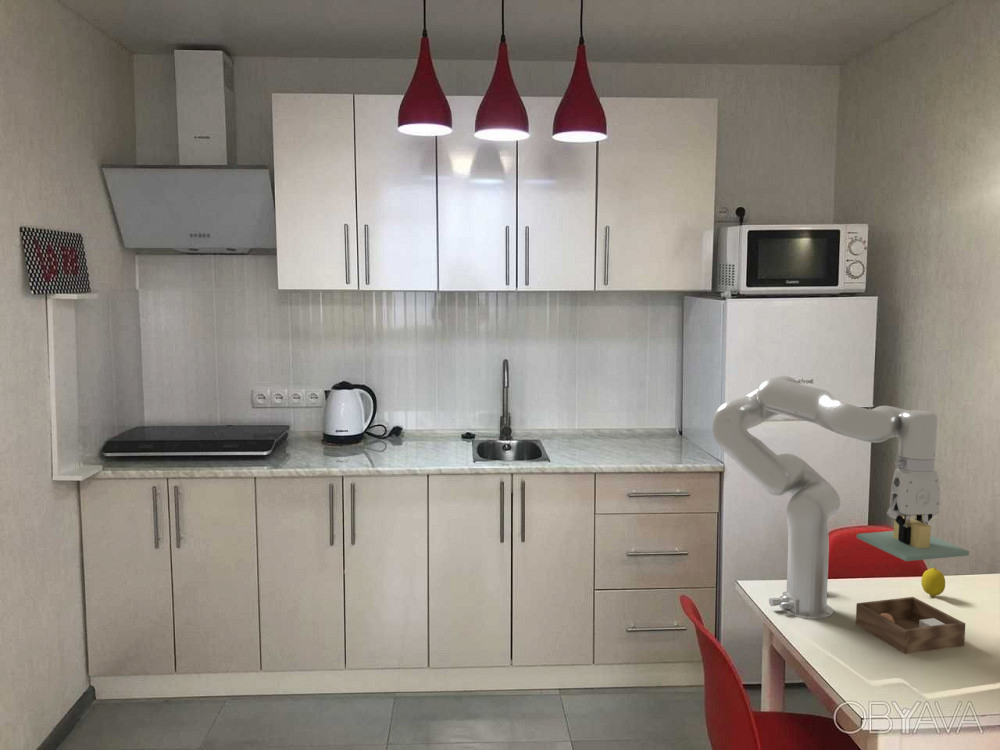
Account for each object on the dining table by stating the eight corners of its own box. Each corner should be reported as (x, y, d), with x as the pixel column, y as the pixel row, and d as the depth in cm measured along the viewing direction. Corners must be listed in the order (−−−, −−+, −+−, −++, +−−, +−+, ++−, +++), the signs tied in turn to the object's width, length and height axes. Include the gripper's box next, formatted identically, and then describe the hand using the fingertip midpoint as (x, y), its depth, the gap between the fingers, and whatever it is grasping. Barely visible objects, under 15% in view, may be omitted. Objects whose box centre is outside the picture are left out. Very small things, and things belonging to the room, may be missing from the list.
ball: (883, 634, 185) (884, 617, 184) (871, 627, 189) (872, 611, 188) (898, 632, 186) (898, 616, 185) (886, 625, 190) (886, 609, 189)
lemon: (915, 595, 210) (917, 566, 209) (930, 591, 212) (931, 562, 212) (935, 602, 205) (936, 572, 204) (949, 598, 207) (950, 569, 207)
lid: (905, 561, 173) (907, 534, 173) (856, 537, 189) (857, 513, 189) (968, 555, 177) (970, 529, 176) (915, 533, 193) (916, 509, 192)
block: (931, 643, 180) (932, 627, 179) (918, 636, 184) (919, 619, 183) (946, 641, 181) (947, 625, 180) (932, 634, 185) (933, 618, 184)
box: (903, 657, 175) (905, 631, 175) (855, 627, 191) (856, 603, 190) (963, 648, 179) (965, 623, 178) (911, 620, 194) (913, 596, 194)
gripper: (896, 469, 175) (891, 549, 178) (958, 466, 179) (953, 544, 181) (873, 462, 183) (869, 539, 185) (933, 459, 186) (929, 534, 188)
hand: (911, 541), depth 183 cm, fingers closed on lid, 3 cm apart
